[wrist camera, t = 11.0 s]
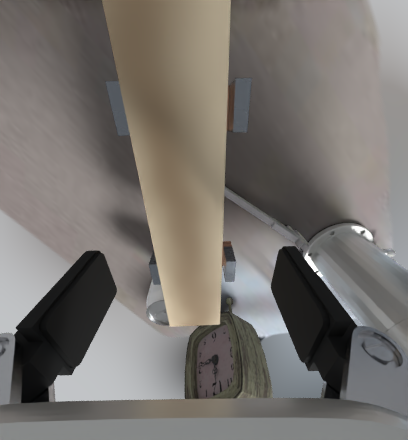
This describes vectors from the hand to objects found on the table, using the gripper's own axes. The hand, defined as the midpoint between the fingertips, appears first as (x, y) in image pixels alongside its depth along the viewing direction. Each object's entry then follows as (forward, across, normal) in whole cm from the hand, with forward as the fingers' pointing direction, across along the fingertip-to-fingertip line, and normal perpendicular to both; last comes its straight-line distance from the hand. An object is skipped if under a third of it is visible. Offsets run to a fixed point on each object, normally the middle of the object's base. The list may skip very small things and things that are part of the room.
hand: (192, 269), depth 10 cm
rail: (+9, +1, 0) cm, 9 cm away
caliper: (+20, -9, +5) cm, 23 cm away
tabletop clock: (+20, -4, +34) cm, 40 cm away
